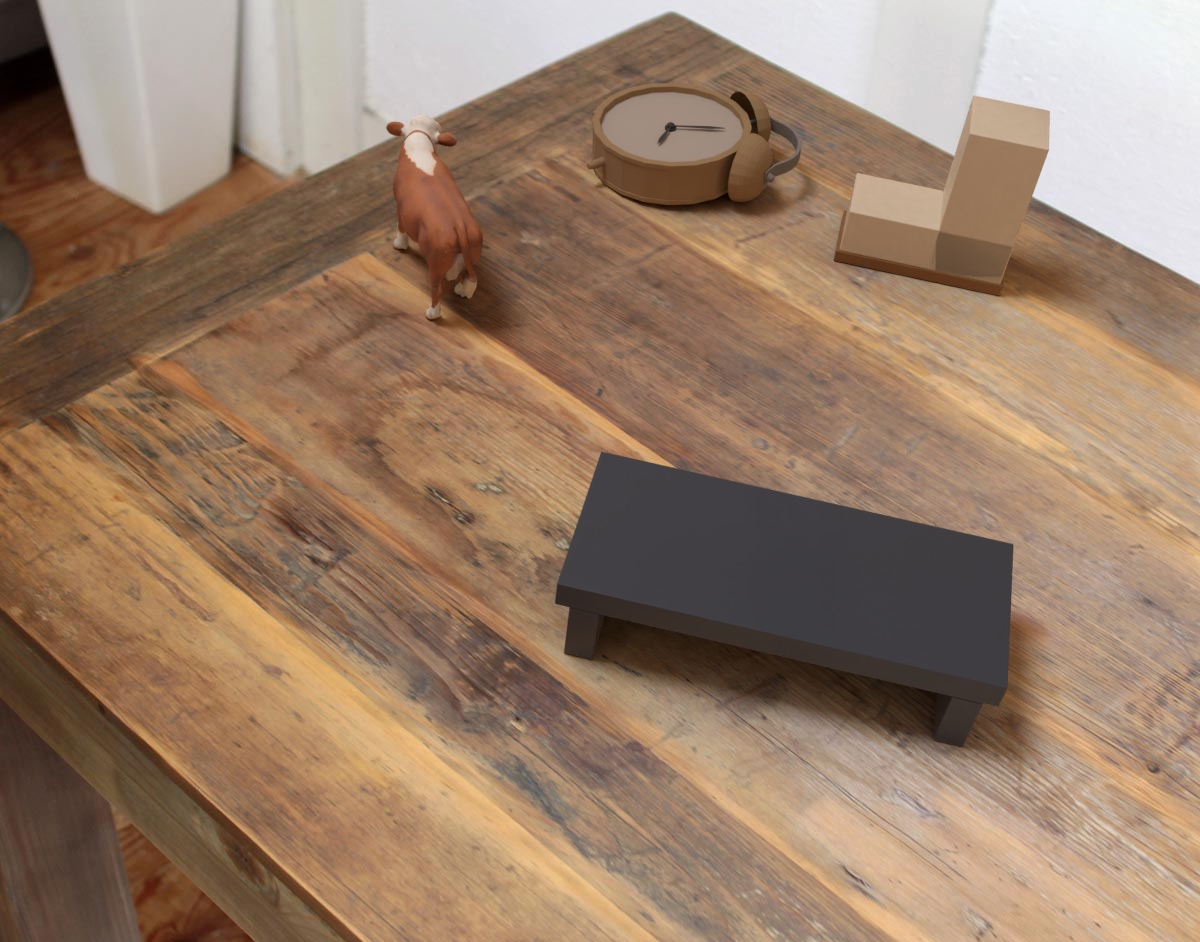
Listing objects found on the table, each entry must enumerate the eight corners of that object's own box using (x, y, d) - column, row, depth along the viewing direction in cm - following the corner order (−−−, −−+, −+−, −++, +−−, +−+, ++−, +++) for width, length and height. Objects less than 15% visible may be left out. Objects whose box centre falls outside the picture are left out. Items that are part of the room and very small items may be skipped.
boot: (1001, 253, 104) (1053, 110, 96) (999, 296, 100) (1052, 151, 92) (841, 219, 105) (879, 74, 96) (833, 260, 101) (871, 114, 93)
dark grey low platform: (985, 607, 80) (1014, 543, 77) (977, 750, 74) (1007, 688, 70) (592, 517, 82) (601, 450, 78) (549, 650, 75) (556, 583, 72)
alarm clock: (592, 79, 108) (799, 69, 107) (597, 140, 112) (797, 131, 110) (583, 162, 101) (806, 152, 99) (589, 225, 104) (804, 216, 103)
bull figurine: (443, 207, 101) (446, 97, 95) (487, 330, 92) (493, 217, 86) (379, 212, 100) (378, 100, 94) (418, 336, 91) (419, 223, 85)
